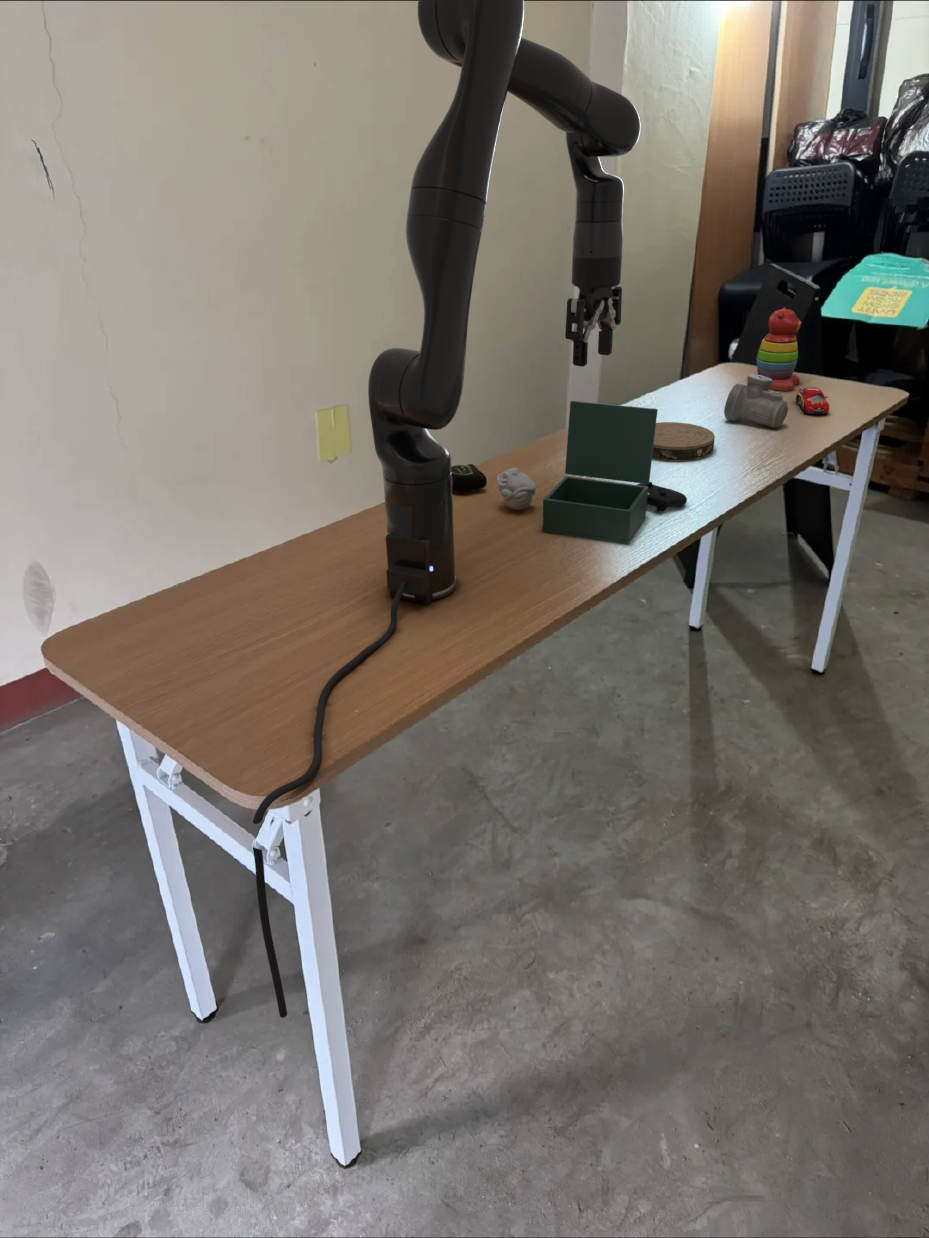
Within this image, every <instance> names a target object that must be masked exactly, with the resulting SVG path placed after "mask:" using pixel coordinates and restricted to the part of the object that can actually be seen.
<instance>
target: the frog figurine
mask: <svg viewBox="0 0 929 1238" xmlns="http://www.w3.org/2000/svg"><path fill="white" fill-rule="evenodd" d="M496 485H497V489H498V491H499V492H500V495H501V496H502V497H503V501H504V503H505V504H506V506H507V507H509V508H510V509H511V510H516V511H520V510H523V509H526V508H527V507H528V506H529V505H530V504H531V502H532V500H533V496H534V495H535V494H536V484H535V482H534V481H533V480H532V479H531V478H530V477H529V476H528V475H527V474H526V473H524V472H522V471H521V470H520V469H519V468H518V467H511V468H507V469H506V470H504V471H501V473H499V474H497V476H496Z"/></svg>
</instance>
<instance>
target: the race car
mask: <svg viewBox="0 0 929 1238" xmlns="http://www.w3.org/2000/svg"><path fill="white" fill-rule="evenodd" d="M795 396H796V397H795V404H796V405H798V406H799V407H800V409H801V410H803V411H802V412H803V414H817V415H822V414H823V415H827V414H829V410H830V404H829V402H828V400H827V399H828V396H827V395H825V394H824V392H823V391H822V389H821V388H819V387H800V388H799V389H798V390H797V392H796V395H795Z"/></svg>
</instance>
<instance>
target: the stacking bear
mask: <svg viewBox="0 0 929 1238" xmlns="http://www.w3.org/2000/svg"><path fill="white" fill-rule="evenodd" d="M801 327H802V321H801V320H800V319H799V317H798V316H797V315H796V312H795V311H793V310H791V309H787V307H782V308H781V309H777V310H775V311H774V312H772V313H771V314H770V316H769V318H768V331H769V332H768V333H767V334H766V335H764V338H763V339H762V340H761V343H760V345H759V349H758V351H757V355H756V367H757V368H756V371H757V375H762V376H766V377H769V378H771V379H772V383H771V385H770V387H769V390H772V391H778V392H790V391H792V390H794V385H795V386H796V385H798V384H800V377H799V376H798V375H796V374H794V372H795V368H796V366H797V364H798V360H799V359H798V358H799V349H798V348H799V347H798V337H797V335H796V333H797V332H798V331H799V329H800V328H801Z"/></svg>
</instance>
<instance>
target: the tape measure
mask: <svg viewBox="0 0 929 1238" xmlns="http://www.w3.org/2000/svg"><path fill="white" fill-rule="evenodd" d="M451 473H452V491H453V492H457V493H469V492H473V491H478V490H480V489H484V488H485V487H486V486H487V483H488V478H487V476H486V475H485V474H484V473H483V472H482V471H481V470H479V468H478V467H477V466H476V465H475V464H473V463H469V464H468V463H467V464H456V465H451Z"/></svg>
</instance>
